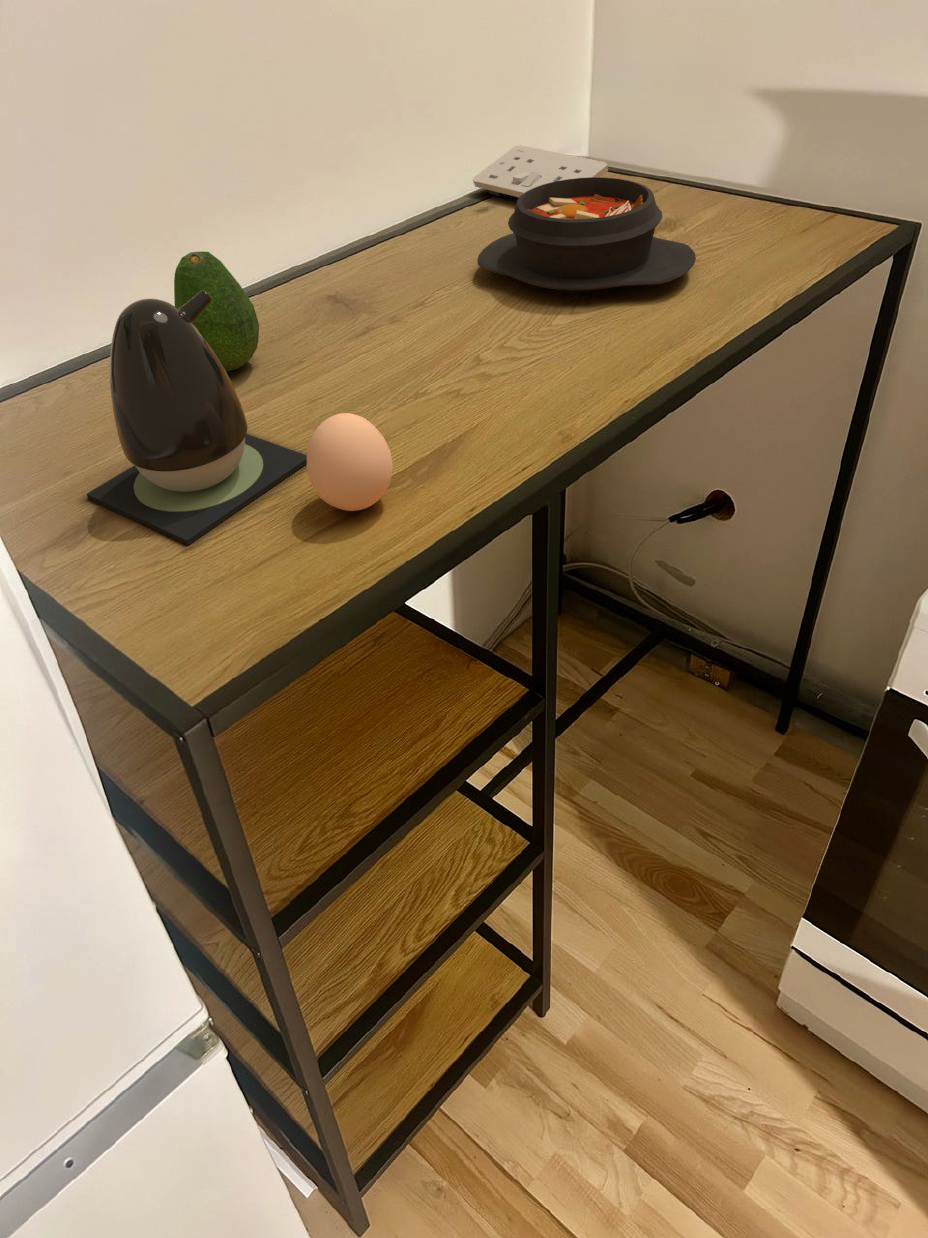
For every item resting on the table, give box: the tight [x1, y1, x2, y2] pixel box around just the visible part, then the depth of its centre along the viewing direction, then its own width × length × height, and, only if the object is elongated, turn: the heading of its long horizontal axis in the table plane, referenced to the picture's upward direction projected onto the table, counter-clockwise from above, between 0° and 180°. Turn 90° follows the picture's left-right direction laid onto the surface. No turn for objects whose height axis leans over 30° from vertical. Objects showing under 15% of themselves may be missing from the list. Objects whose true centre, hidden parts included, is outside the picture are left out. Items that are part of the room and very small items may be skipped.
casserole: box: [476, 177, 697, 292], centre depth 104 cm, size 25×19×8 cm
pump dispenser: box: [109, 290, 248, 492], centre depth 74 cm, size 10×10×15 cm
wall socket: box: [472, 144, 609, 199], centre depth 127 cm, size 18×15×4 cm
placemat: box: [86, 433, 307, 546], centre depth 79 cm, size 13×14×1 cm
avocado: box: [173, 251, 260, 373], centre depth 91 cm, size 8×8×12 cm
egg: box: [306, 412, 394, 512], centre depth 72 cm, size 7×7×8 cm
